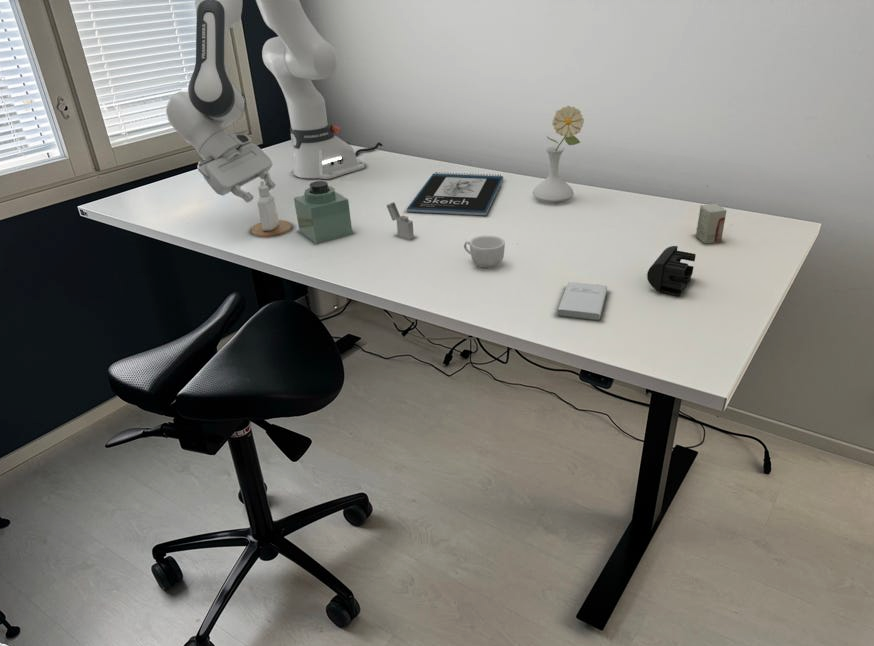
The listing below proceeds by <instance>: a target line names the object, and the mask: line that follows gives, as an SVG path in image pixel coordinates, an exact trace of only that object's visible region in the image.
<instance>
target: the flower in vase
mask: <svg viewBox="0 0 874 646" xmlns="http://www.w3.org/2000/svg"><path fill="white" fill-rule="evenodd" d="M584 123H585V118H584V117H583V114H582V110H580V109H579V108H576V107H575V106H570V105H567V106H562V107H561V109H558V110H556V111H555V114H554V117H553V119H552V122H551V125H552V127H553V129H554V130H555V134H557V135H560V136H561V137H562V136H563V138H562V139H561V141H560V142H558V141H557V140H556V139H553V138H551V137H549V136H548V135H546V138H547V139H548V140H550V141H552V142H554V143H556V144H558V145H551V146H547V147H545V151H546V153H547V154H548V158H549V174H548V176H547V177H546V178H544V179H543V180H542V181H540V183H538V184H537V185H536V186H535V187H534V188H533V190H532V195H533V198H535V199H537V200H539V201H542V202H547V203H561V202H565V201H568V200H570V199H571V198H572V197H573V196H574V194H575V192H574V189H573V188H572V187H571V185H569V184H568V183H567V182H566V181H564V179H562V178H561V177H560V175H559V164H560V159H561V156H562V154H563V152H564V151H565V147H562V146H561V145H562V143H563V142H564V141H565V143H566V144H567V145H568V146H575V145H579V144H580V143H581V141H580V140H579V138H578V137H576V136H575V135H577V134H580V132H581V130H582V128H583V126H584V125H583V124H584Z"/></svg>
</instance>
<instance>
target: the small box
mask: <svg viewBox="0 0 874 646" xmlns="http://www.w3.org/2000/svg"><path fill="white" fill-rule="evenodd" d="M727 211H728V210H726V209H725V208H724V207H722V206H721V205H719V203H711V204H709V203H708V204H701V205H700V206H699V212H698V213H699V214H698V219H697V225H696V226H697V227H696V232H695V237H696V238H697V239H699V240H700V241H701V242H702V243H704V244H713V243H721V242H722V239H723V233H724V228H725V222H726V216H727Z"/></svg>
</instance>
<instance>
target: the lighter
mask: <svg viewBox="0 0 874 646" xmlns="http://www.w3.org/2000/svg"><path fill="white" fill-rule="evenodd" d="M386 208H387V211H388V213H389V216H390V218H391V220H392V221H396V229H397V230H396V232H397V237H400V238H402V239H405V240H412V239H414V237H415V235H414V233H415V232H414V222H413V220H410V219H409V216H407V215H400V212H399V210H398V207H397V205H396V202H395V201H392V202H390V203H388V204H386Z"/></svg>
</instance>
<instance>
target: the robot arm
mask: <svg viewBox="0 0 874 646" xmlns="http://www.w3.org/2000/svg"><path fill="white" fill-rule="evenodd" d="M255 2H256V5H257V7H258V9H259V12H260V15H261V17H262V19H263V21H264V23H265V25H266V27H268V28H269V29H270V30H272V31H273V32H274V33H275V34H276V35H277V36H274V37H271V38H269V39H267V40H266V41H265V42H264V45H263V46H262V49H261V53H262V54H261V57H262V61H263V64H264V65H265V67H266V68H267V69H268V71H270V72H271V74H272V75H273V76H274V77H275V79H276V81H277V83H278V86H279V87H280V89H281V91H282V94H283V96H284V98H285V99H284V100H285V102H286V107H287V111H288V116H289V121H290V128H289V130H290V140H291V143H292V147H293V159H294V160H293V161H294V163H293V172H292V175H294V176H295V177H297V178H300V179H320V180H321V179H322V180H330V179H335V178H337V177H340V176H343V175H346V174H349V173H352V172H356V171H359V170H363V169H364V168H366V167H365V163H364V162H363V160H361V159H360V158H358V155H359V153H362V152H371V151H375V150H376V149H378V148H379V147H383V143H381V142H379V141H378V142H377V143H376V144H375V146H373V147H366V148H360V149H357V150H356V151H355V150H354V148H353V147H352V145H351V144H350V142H349V141H348V142H346V141H344V140H343V139H341V138H339V137H338V136H337V135H335V134H339V133H340V132H341V128H340V127H339V126H337V125H332V124H330V123H328V116H327V108H326V101H325V98H324V96H323V95H322V93H321V92H320V91H318V89H317V88H316V87H315V85H314V83H313V81H320V80H325V79H329V78H331V77H333V75H334V74H335V73H336V71H337V68H338V63H339V61H338V60H339V59H338V54H337V51H336V49H335V47H334V46H333V45H332V44H330V42H328V41H327V40H326V39H325V38H324V37H323V36H321V34H320V33H319V32H318V30H317V29H316V28H315V27H314V25H313V24H312V22H311V20H310V19H309V17H308V16H307V14H306V11H304V9H303V6H302V3H301V1H300V0H255ZM194 7H195V17H196V18H195V19H196V26H195V28H196V29H195V64H194V65H195V66H194V68H193V73H192V74H191V77H190V79H189V82H188V87H187V90H186V91H178V92H175V94H173V95H172V96H171V97H170V99H169V100H168V102H167V104H166V107H165V118H166V119H167V121H168V123H169V124H170V125H171V126H172V128H173V129H174V131H176V133H177V134H178V135H179V136H180V137H181V138H182V139H183V140H184V141H185V142H186V143H187V144H189V145H190V146H192V147H193V148H194V149H195V151H196V153H197V154H198V155H199V156H200V157H201V159H202V160H200V161H198V163H197V170H198V172H199V173H200V174H201V175H202V177H203V178H204V180H205V182H206V183H207V184H208V185H209V187H210V188H211V189H212V190H213V191H214V192H215V193H216V194H217V195H219V196H222V197H224V196H225V195H227V194H229V193H232V194H233V195H234V196H235V197H238V198H241V199H242V200H244V202H245V203H250V202H252V201H253V200H254V198H255V197H254V195H253V194H252V193H251V192H250V191H248V192H247V191H245V190H243V189H242V187H243V186H244V185H247V184H249V183H250V182H252V181H254V180H256V179H258V178H260V179H261V180H263V181H264V184H265V185H266V186H268V188H269V191H271V190H274V188H276V183H275V181H273V179H272V178H271V175H270V172H269V171H270V169H271V168H273V167H272V166H273V162H272V159H271V157H269V156H268V155H267V154H266V153H265V152H264V150H263V149H262V148H261V147H259V146H258V145H257V144H256V143H253V142H252V138H251V137H250V136H249V135H248V134H246V133H245V134H244V133H242V134H241V133H240V134H238V133H228V131H226V130H225V129H226V128H228V127H230V126H232V125H233V124H235V123H236V122H237V121H239V120H240V119H241V117H242V116H243V114H244V112H245V110H246V109H245V108H246V103H245V99H244V96H243V95H242V93H241V92H240V91H239V89H237V88H236V86H235V85H233V84H232V82H231V80H230V79H229V76H228V74H227V70H226V36H227V32H228V30H230V29H233V28H234V27H235V26H237V25H238V24H239V23H240V21H241V18H242V13H243V0H194Z"/></svg>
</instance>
